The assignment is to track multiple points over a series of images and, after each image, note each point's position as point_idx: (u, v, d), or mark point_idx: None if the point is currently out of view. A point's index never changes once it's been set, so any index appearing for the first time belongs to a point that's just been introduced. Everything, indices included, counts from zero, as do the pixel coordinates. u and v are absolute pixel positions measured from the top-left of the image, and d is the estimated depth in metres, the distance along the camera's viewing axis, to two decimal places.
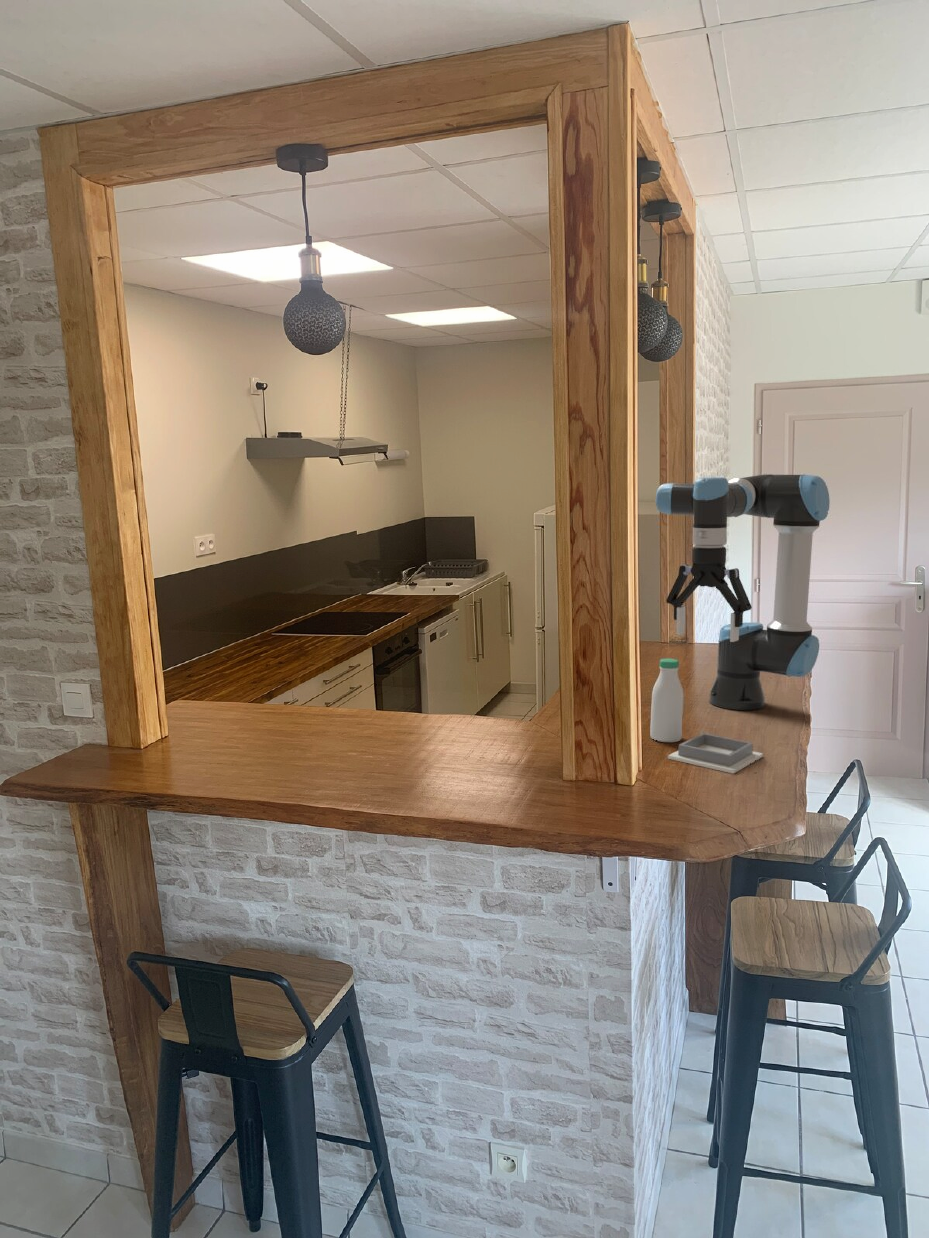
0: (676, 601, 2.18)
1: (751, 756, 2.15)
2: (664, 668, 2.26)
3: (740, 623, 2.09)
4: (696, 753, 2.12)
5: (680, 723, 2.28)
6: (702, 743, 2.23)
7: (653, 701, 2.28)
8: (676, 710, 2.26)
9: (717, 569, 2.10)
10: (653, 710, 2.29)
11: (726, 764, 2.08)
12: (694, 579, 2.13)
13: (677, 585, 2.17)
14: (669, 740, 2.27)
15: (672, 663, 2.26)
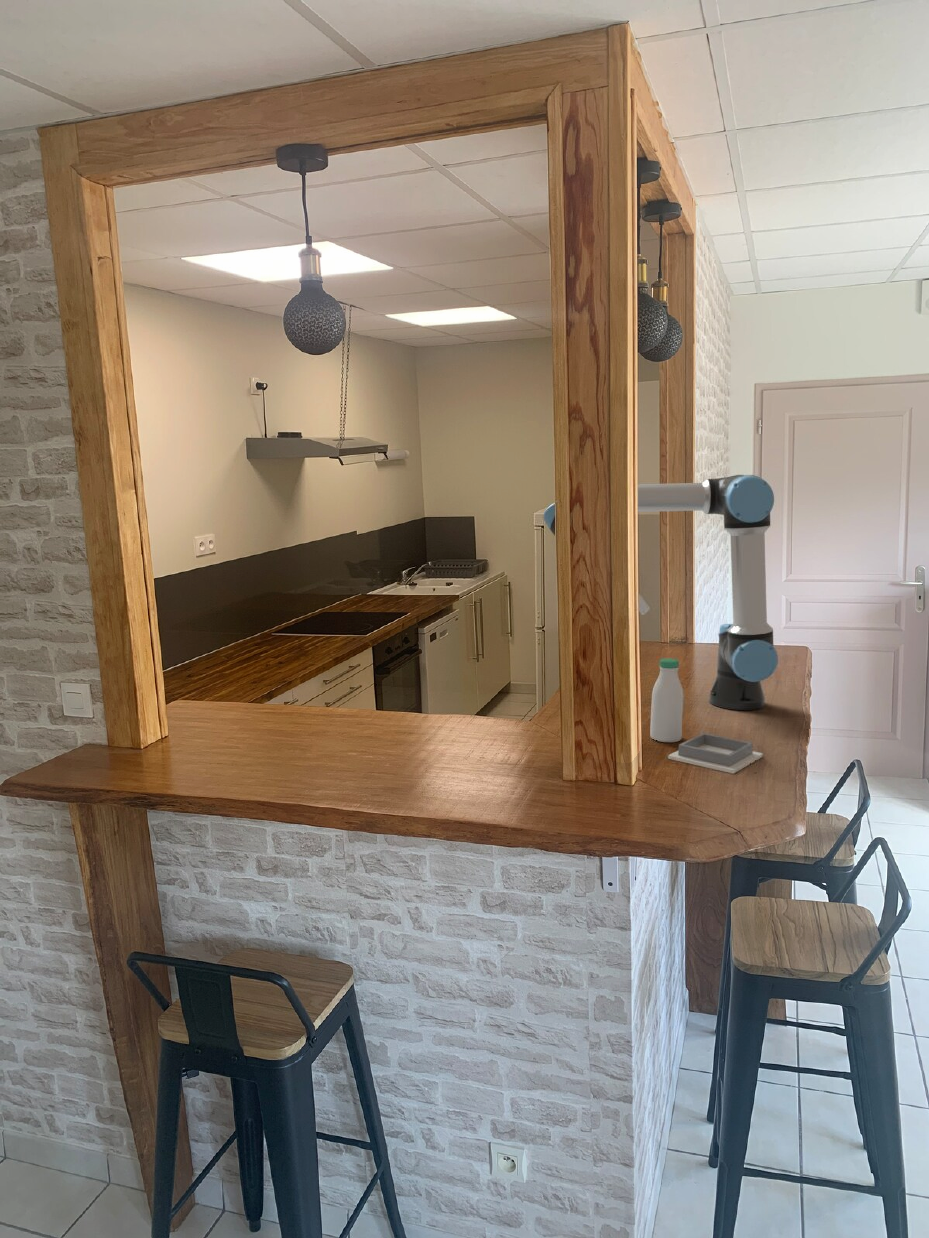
0: None
1: (751, 756, 2.15)
2: (664, 668, 2.26)
3: None
4: (696, 753, 2.12)
5: (680, 723, 2.28)
6: (702, 743, 2.23)
7: (653, 701, 2.28)
8: (676, 710, 2.26)
9: None
10: (653, 710, 2.29)
11: (726, 764, 2.08)
12: None
13: None
14: (669, 740, 2.27)
15: (672, 663, 2.26)
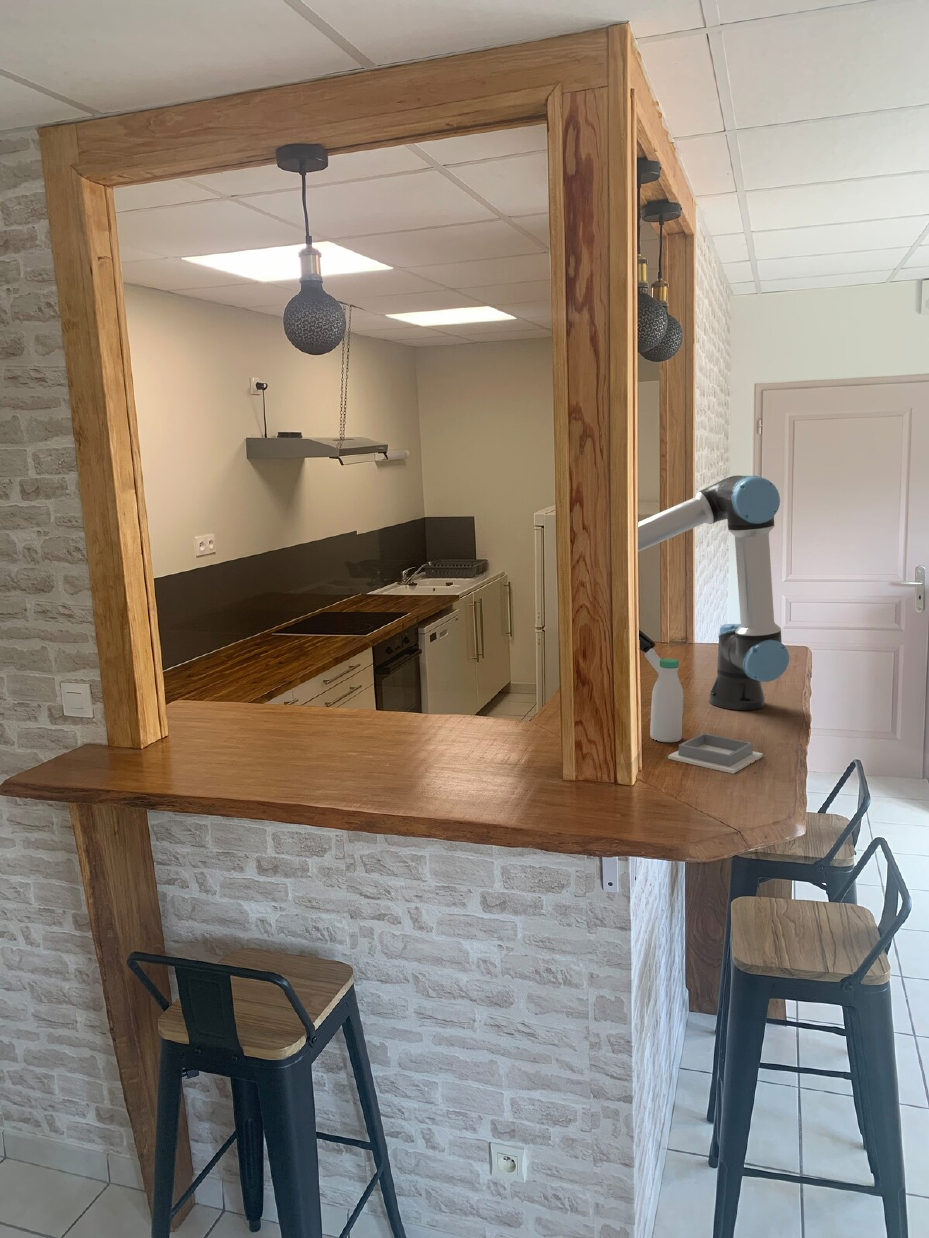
0: None
1: (751, 756, 2.15)
2: (664, 668, 2.26)
3: None
4: (696, 753, 2.12)
5: (680, 723, 2.28)
6: (702, 743, 2.23)
7: (653, 701, 2.28)
8: (676, 710, 2.26)
9: None
10: (653, 710, 2.29)
11: (726, 764, 2.08)
12: None
13: None
14: (669, 740, 2.27)
15: (672, 663, 2.26)
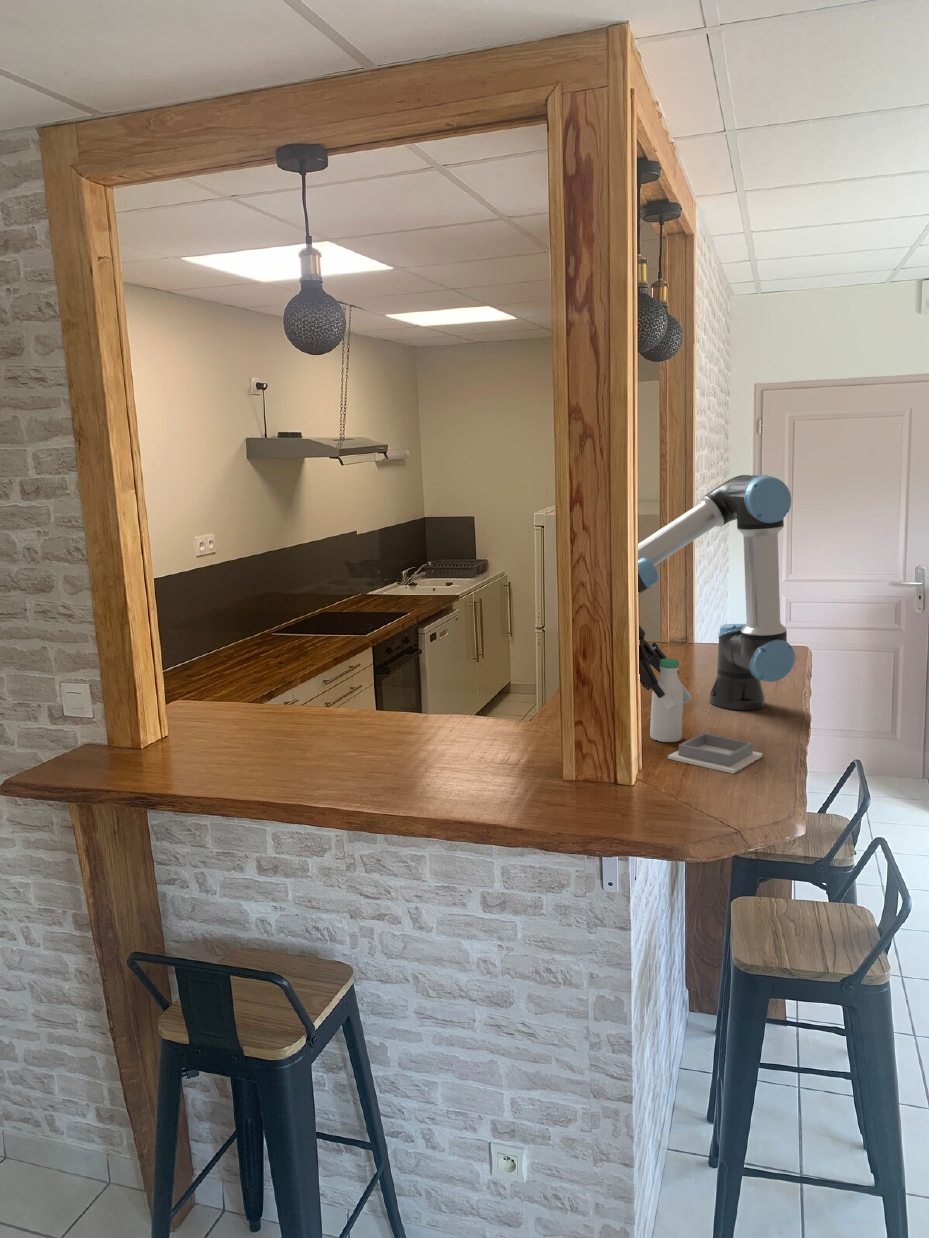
0: None
1: (751, 756, 2.15)
2: (664, 668, 2.26)
3: (658, 694, 2.25)
4: (696, 753, 2.12)
5: (680, 723, 2.28)
6: (702, 743, 2.23)
7: (653, 701, 2.28)
8: (676, 710, 2.26)
9: None
10: (653, 710, 2.29)
11: (726, 764, 2.08)
12: None
13: None
14: (669, 740, 2.27)
15: (672, 663, 2.26)
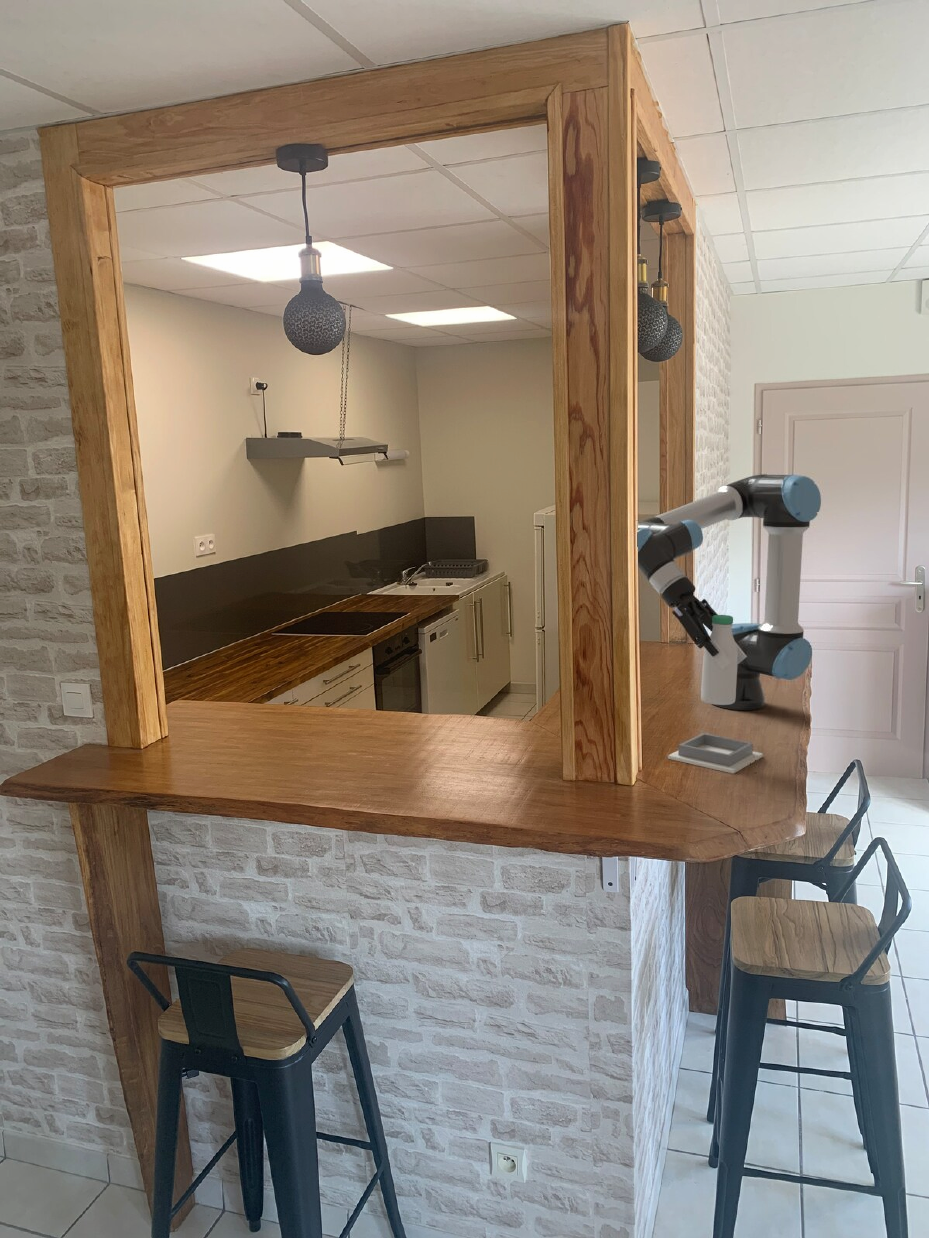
0: None
1: (751, 756, 2.15)
2: (717, 624, 2.09)
3: (711, 652, 2.08)
4: (696, 753, 2.12)
5: (734, 684, 2.11)
6: (702, 743, 2.23)
7: (705, 660, 2.12)
8: (730, 670, 2.09)
9: None
10: (705, 670, 2.12)
11: (726, 764, 2.08)
12: None
13: None
14: (722, 702, 2.10)
15: (726, 619, 2.09)
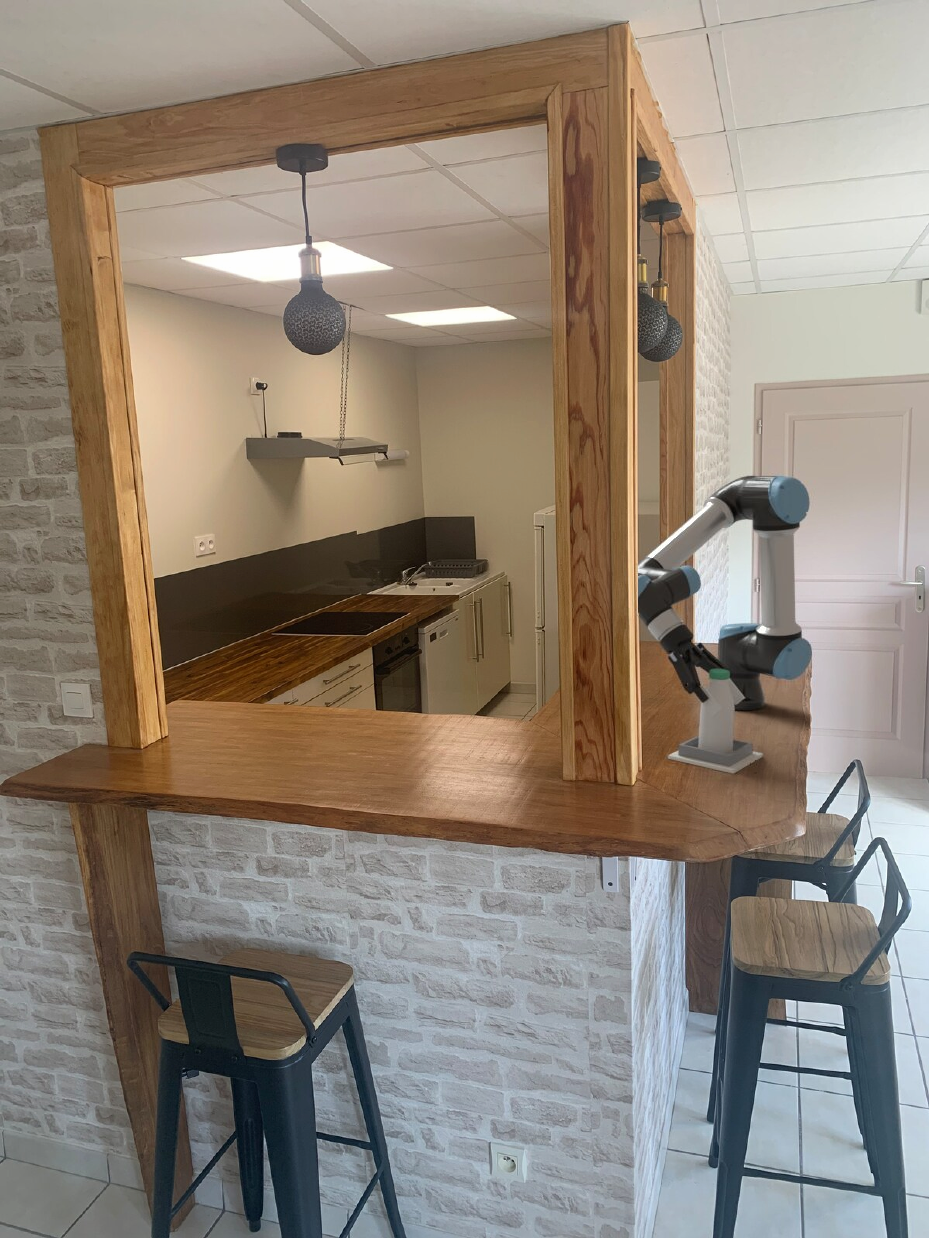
0: None
1: (751, 756, 2.15)
2: (714, 679, 2.11)
3: (701, 698, 2.08)
4: (696, 753, 2.12)
5: (731, 738, 2.13)
6: None
7: (702, 714, 2.14)
8: (727, 724, 2.11)
9: None
10: (702, 724, 2.14)
11: (726, 764, 2.08)
12: None
13: None
14: None
15: (723, 674, 2.11)
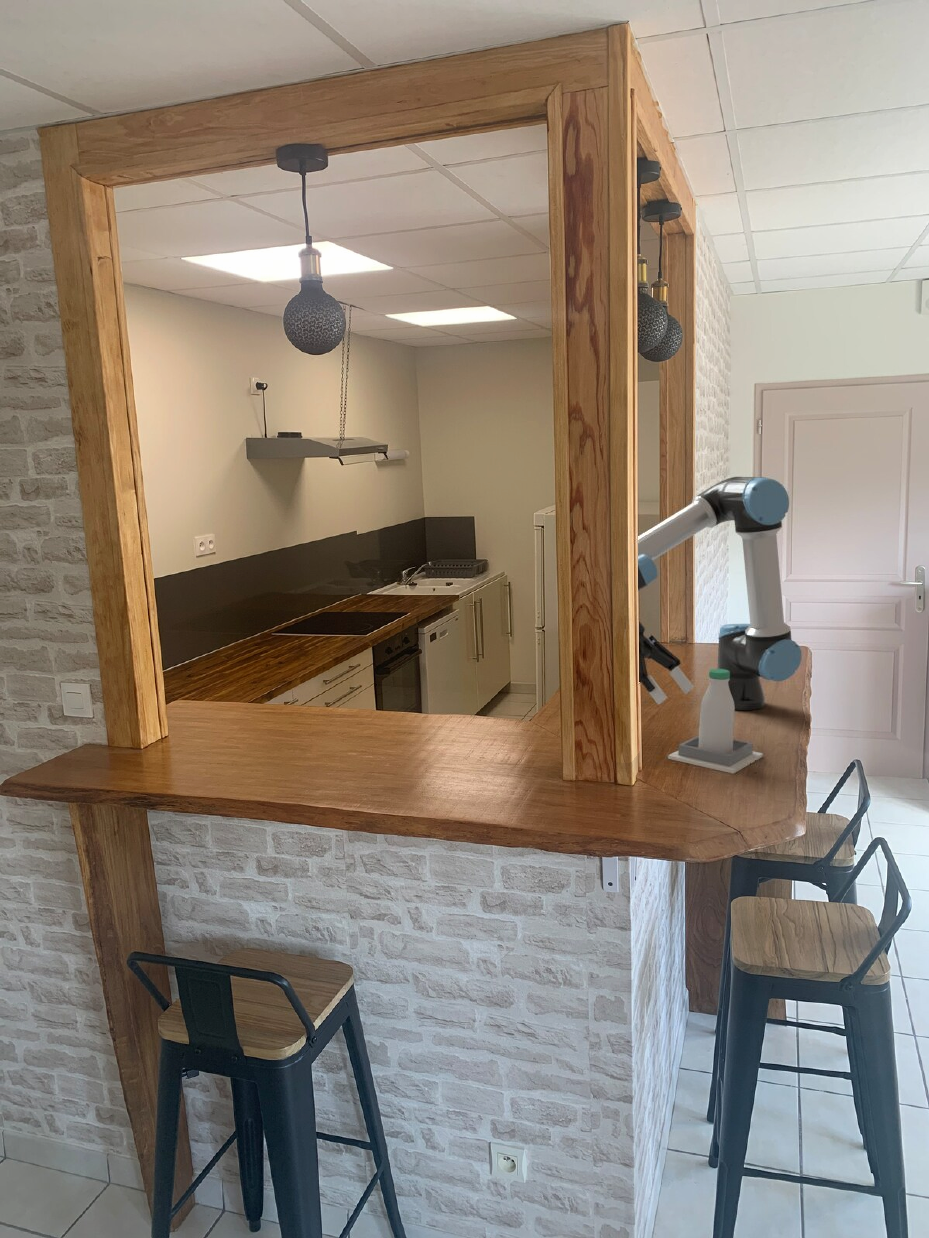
0: None
1: (751, 756, 2.15)
2: (714, 679, 2.12)
3: (648, 688, 2.16)
4: (696, 753, 2.12)
5: (731, 738, 2.13)
6: None
7: (702, 714, 2.14)
8: (727, 724, 2.12)
9: None
10: (702, 724, 2.14)
11: (726, 764, 2.08)
12: None
13: None
14: None
15: (723, 674, 2.11)
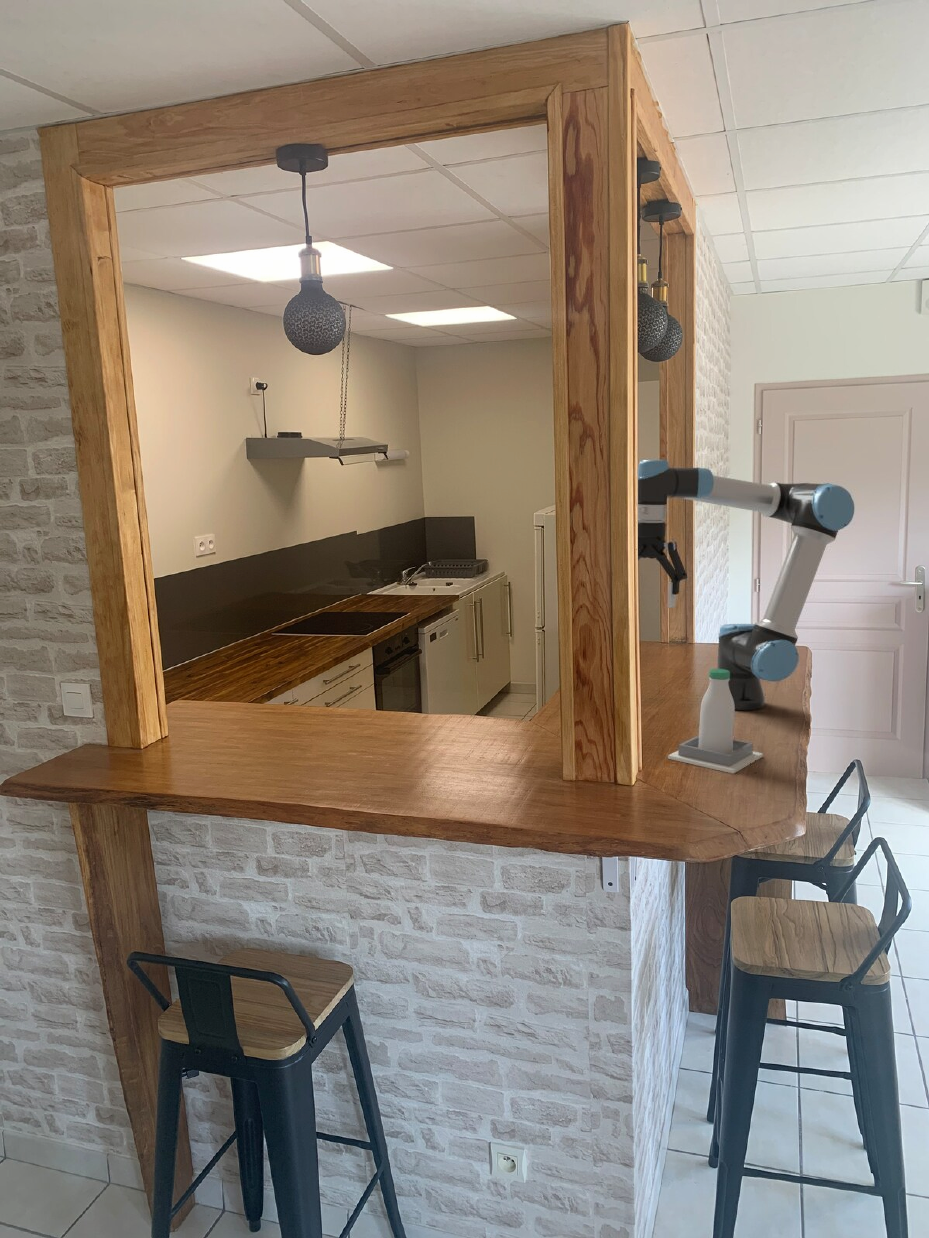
0: None
1: (751, 756, 2.15)
2: (714, 679, 2.12)
3: (677, 591, 2.33)
4: (696, 753, 2.12)
5: (731, 738, 2.13)
6: None
7: (702, 714, 2.14)
8: (727, 724, 2.12)
9: (657, 542, 2.33)
10: (702, 724, 2.14)
11: (726, 764, 2.08)
12: None
13: None
14: None
15: (723, 674, 2.11)
